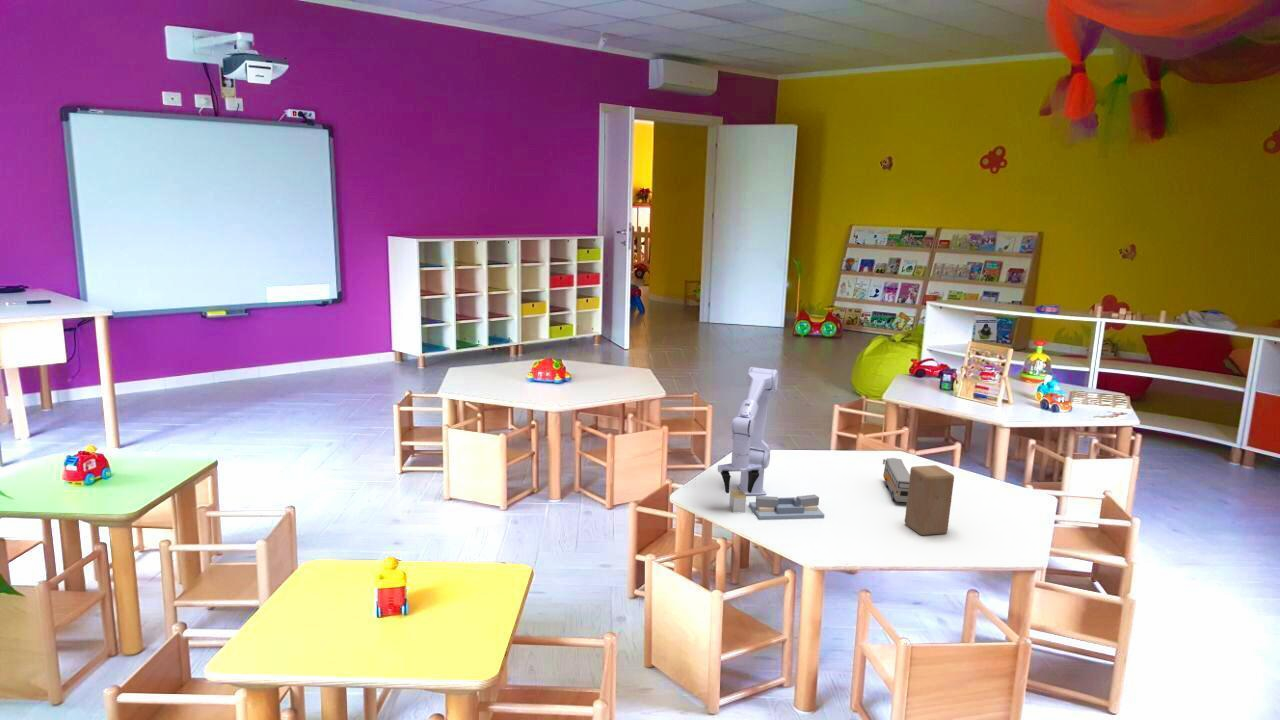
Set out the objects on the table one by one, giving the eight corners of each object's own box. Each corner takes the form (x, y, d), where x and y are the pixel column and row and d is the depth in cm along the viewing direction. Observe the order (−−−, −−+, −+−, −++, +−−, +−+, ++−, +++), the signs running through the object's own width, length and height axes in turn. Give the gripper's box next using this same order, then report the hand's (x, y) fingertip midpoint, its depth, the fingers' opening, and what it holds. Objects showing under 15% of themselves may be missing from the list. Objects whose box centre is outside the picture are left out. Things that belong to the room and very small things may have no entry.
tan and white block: (729, 506, 284) (730, 490, 282) (740, 506, 284) (742, 489, 283) (733, 512, 279) (734, 495, 278) (744, 512, 280) (746, 495, 278)
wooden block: (920, 536, 266) (927, 476, 262) (903, 524, 275) (909, 465, 271) (948, 534, 268) (955, 474, 264) (929, 521, 278) (936, 464, 274)
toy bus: (899, 481, 315) (902, 456, 312) (913, 507, 290) (916, 480, 288) (880, 480, 315) (883, 455, 313) (893, 506, 290) (896, 478, 288)
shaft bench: (749, 505, 285) (750, 491, 284) (811, 504, 289) (812, 489, 288) (759, 519, 274) (760, 504, 273) (824, 517, 277) (825, 503, 276)
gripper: (722, 457, 272) (719, 496, 275) (765, 456, 275) (762, 496, 278) (717, 450, 279) (714, 489, 282) (759, 449, 282) (756, 488, 284)
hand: (738, 492), depth 280 cm, fingers open, 7 cm apart
